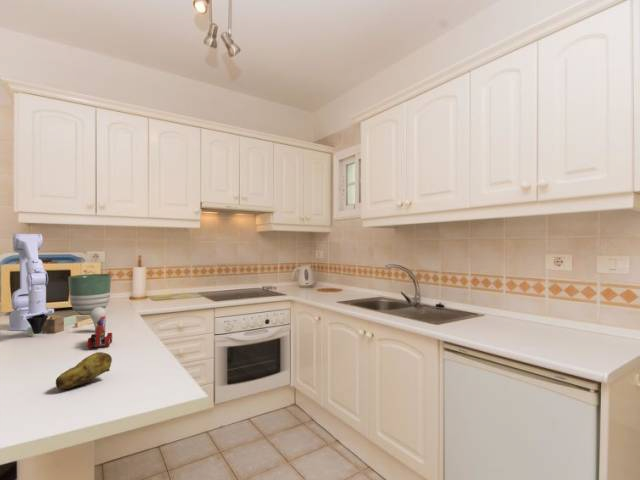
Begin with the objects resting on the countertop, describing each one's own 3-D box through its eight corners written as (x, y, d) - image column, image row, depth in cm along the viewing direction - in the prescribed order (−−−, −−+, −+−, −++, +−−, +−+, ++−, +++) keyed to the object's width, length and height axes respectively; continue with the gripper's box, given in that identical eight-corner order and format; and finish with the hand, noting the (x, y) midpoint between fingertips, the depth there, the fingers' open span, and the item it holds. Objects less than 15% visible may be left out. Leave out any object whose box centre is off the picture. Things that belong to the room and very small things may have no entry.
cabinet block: (43, 333, 150) (43, 317, 150) (53, 330, 155) (53, 314, 155) (54, 333, 149) (54, 317, 149) (63, 330, 154) (63, 314, 154)
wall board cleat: (27, 336, 145) (27, 327, 145) (74, 322, 171) (74, 315, 171) (50, 336, 145) (50, 328, 145) (94, 322, 170) (94, 315, 170)
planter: (84, 319, 176) (84, 278, 176) (60, 316, 183) (60, 276, 183) (119, 312, 194) (119, 274, 194) (95, 310, 201) (95, 273, 201)
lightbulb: (98, 334, 148) (98, 308, 148) (86, 333, 149) (86, 308, 149) (109, 330, 154) (109, 306, 154) (98, 330, 155) (98, 305, 155)
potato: (57, 384, 96) (57, 355, 96) (111, 374, 103) (111, 347, 103) (54, 395, 89) (54, 364, 89) (112, 383, 96) (112, 355, 96)
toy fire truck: (85, 351, 124) (85, 323, 124) (93, 342, 136) (93, 316, 136) (108, 349, 127) (108, 321, 127) (113, 340, 139) (113, 314, 139)
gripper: (30, 304, 136) (30, 338, 136) (60, 298, 151) (60, 329, 151) (14, 304, 137) (14, 338, 137) (45, 298, 151) (45, 329, 151)
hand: (37, 333), depth 144 cm, fingers closed
